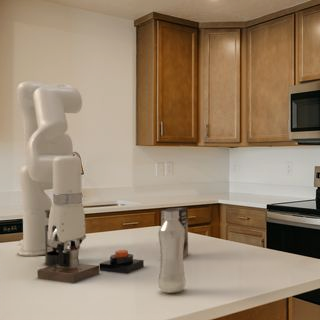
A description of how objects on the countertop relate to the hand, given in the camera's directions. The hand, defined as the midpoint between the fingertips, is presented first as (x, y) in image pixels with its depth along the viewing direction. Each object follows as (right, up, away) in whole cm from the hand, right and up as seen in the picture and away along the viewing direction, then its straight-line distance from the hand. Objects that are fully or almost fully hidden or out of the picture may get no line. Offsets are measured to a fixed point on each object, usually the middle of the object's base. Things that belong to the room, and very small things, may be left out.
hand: (68, 264), depth 127 cm
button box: (+13, -3, +8) cm, 15 cm away
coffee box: (+27, -3, +22) cm, 35 cm away
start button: (+13, 0, +8) cm, 15 cm away
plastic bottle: (+31, -3, -15) cm, 35 cm away
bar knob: (0, -1, 0) cm, 1 cm away
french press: (-9, -3, +17) cm, 20 cm away
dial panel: (0, -3, 0) cm, 3 cm away
